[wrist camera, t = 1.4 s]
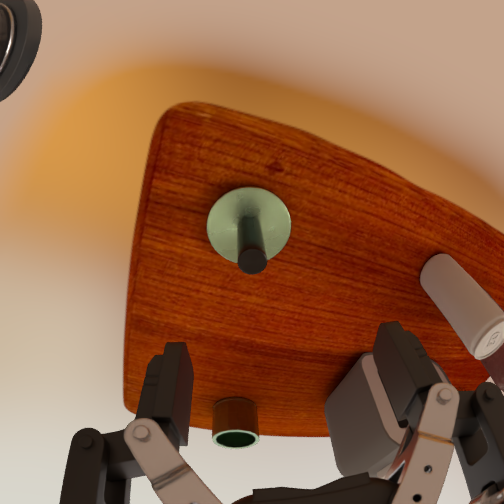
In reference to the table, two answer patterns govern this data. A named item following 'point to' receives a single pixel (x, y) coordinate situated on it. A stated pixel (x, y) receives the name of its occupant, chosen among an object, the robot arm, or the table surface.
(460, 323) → the beverage can
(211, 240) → the lid
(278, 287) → the table surface
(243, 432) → the pot
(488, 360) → the can
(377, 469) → the alarm clock
